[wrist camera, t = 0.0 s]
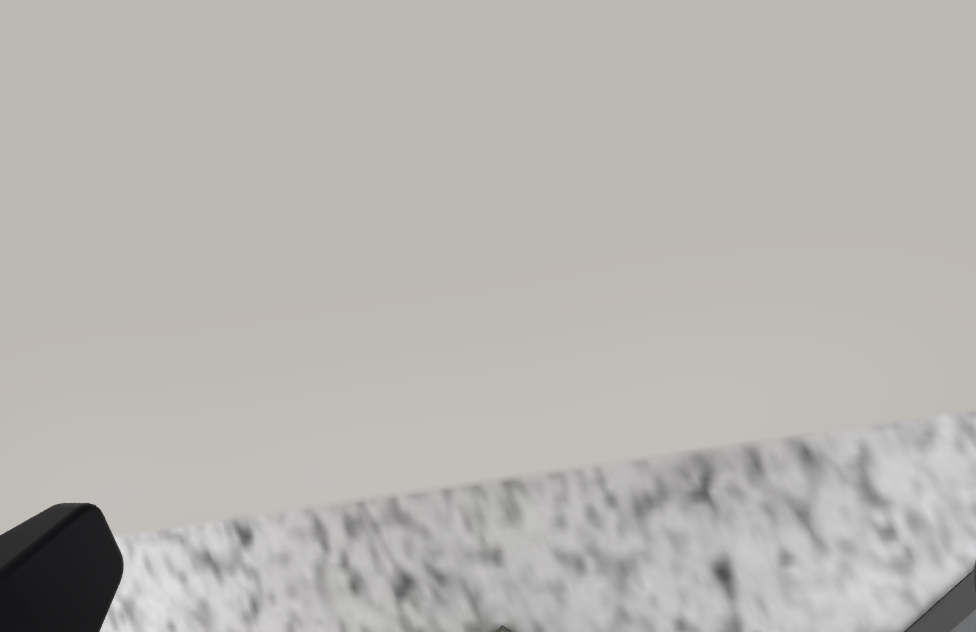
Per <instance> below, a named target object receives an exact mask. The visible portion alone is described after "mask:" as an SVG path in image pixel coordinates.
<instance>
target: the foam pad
mask: <svg viewBox="0 0 976 632" xmlns="http://www.w3.org/2000/svg"><path fill="white" fill-rule="evenodd" d="M906 632H976V597H975V592H974V586H973V572H972V573H971V574H970V575H969V576H968V577H966V578H965V579H964V580H963V581H962V582H961V583H960V584H959V585H958V586H956V587H955V588H954V589H953V590H952V591H951V592H950V593H949V594H947V595H946V596H945V597H944V598H943V599H942V600H941V601H940V602H938V603H937V604H936V605H935V606H934V607H933V608H932V609H931V610H930V611H928V612H927V613H926V614H925V615H924V616H923V617H922V618H921V619H919V620H918V621H917V622H916V623H915V624H914V625H913V626H912V627H910V628H909V629H908V630H907V631H906Z"/></svg>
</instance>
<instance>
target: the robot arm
mask: <svg viewBox="0 0 976 632" xmlns="http://www.w3.org/2000/svg"><path fill="white" fill-rule="evenodd" d="M123 565H124V563H123V557H122V554H121V552H120V550H119V547H118V545H117V543H116V541H115V539H114V537H113V534H112V532H111V530H110V528H109V526H108V524H107V522H106V520H105V517H104V515H103V513H102V512H101V510H100V509H99V508H98V507H96V506H95V505H93V504H90V503H61V504H57V505H54V506H52V507H50V508H48V509H46V510H44V511H43V512H41V513H39V514H38V515H36V516H34V517H32V518H30V519H28V520H27V521H25V522H23V523H21V524H20V525H18V526H16V527H14V528H12V529H11V530H9V531H7V532H5V533H4V534H2V535H0V632H99V631H100V629H101V627H102V624H103V622H104V619H105V617H106V615H107V612H108V610H109V608H110V605H111V603H112V600H113V598H114V596H115V593H116V591H117V589H118V586H119V584H120V581H121V578H122V574H123ZM973 586H974V592H975V597H976V562H975V566H974V571H973Z"/></svg>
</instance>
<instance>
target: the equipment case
mask: <svg viewBox="0 0 976 632" xmlns="http://www.w3.org/2000/svg"><path fill="white" fill-rule="evenodd" d="M497 632H510V631H509V630H507V629H506V628H504V627H503V626H502V627H501V628H500V629H499V630H498V631H497Z"/></svg>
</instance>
